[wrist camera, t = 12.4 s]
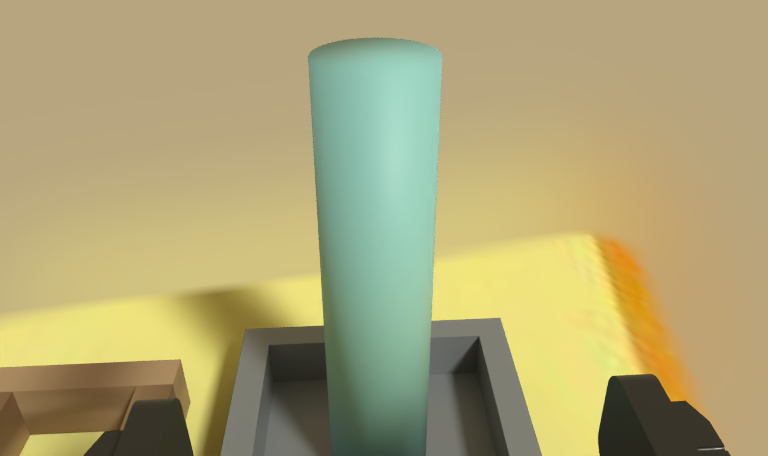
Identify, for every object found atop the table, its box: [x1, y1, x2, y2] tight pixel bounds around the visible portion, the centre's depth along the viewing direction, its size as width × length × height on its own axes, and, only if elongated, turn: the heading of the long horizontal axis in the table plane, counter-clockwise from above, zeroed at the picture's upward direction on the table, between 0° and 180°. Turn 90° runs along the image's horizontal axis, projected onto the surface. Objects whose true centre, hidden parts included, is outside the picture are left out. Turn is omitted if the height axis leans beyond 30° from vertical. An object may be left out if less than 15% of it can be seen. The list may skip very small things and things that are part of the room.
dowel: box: [308, 38, 442, 456], centre depth 20 cm, size 3×3×14 cm
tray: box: [220, 318, 542, 456], centre depth 23 cm, size 10×10×2 cm
